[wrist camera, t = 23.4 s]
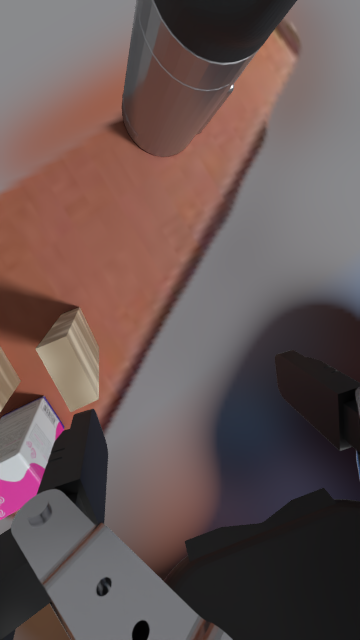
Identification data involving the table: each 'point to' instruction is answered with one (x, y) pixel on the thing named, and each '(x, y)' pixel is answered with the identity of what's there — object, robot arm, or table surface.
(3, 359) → the tile
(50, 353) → the tan flat rectangular block
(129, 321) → the table surface
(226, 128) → the table surface
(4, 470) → the supplement box
